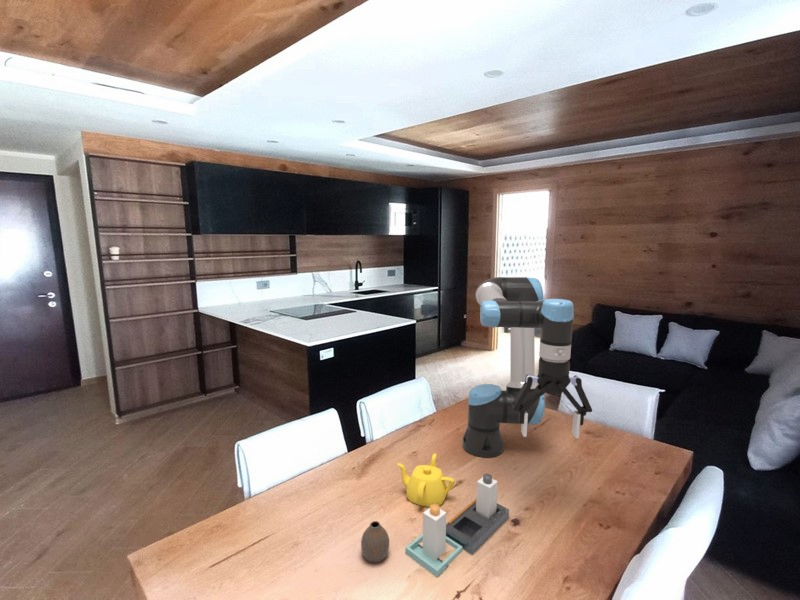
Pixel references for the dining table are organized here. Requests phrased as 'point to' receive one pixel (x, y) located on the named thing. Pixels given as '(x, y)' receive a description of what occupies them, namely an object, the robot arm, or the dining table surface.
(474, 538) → the grey socket base
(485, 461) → the dining table surface
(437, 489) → the teapot
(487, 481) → the twin plug
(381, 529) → the vase
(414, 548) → the tray
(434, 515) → the plug
